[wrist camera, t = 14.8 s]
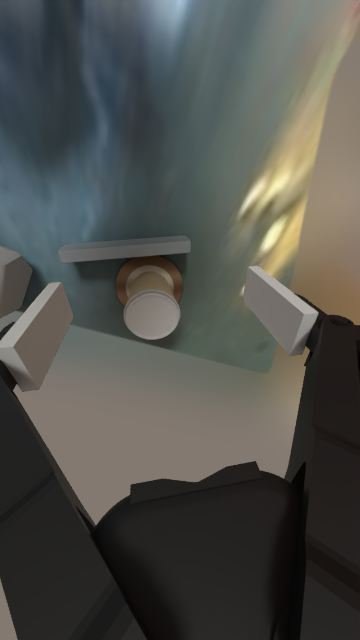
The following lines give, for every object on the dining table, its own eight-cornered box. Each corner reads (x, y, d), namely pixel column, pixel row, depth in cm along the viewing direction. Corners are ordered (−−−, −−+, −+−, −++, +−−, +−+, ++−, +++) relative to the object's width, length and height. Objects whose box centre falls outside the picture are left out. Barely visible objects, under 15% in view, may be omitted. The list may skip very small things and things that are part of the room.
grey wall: (66, 243, 39) (57, 250, 35) (185, 235, 41) (190, 240, 37) (70, 254, 40) (61, 263, 36) (186, 245, 43) (190, 252, 38)
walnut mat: (109, 257, 42) (108, 258, 41) (181, 251, 43) (181, 252, 42) (122, 318, 49) (122, 320, 48) (183, 311, 50) (184, 313, 50)
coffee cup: (157, 314, 49) (161, 348, 39) (119, 295, 45) (112, 327, 35) (181, 281, 45) (192, 309, 35) (142, 258, 42) (142, 281, 32)
